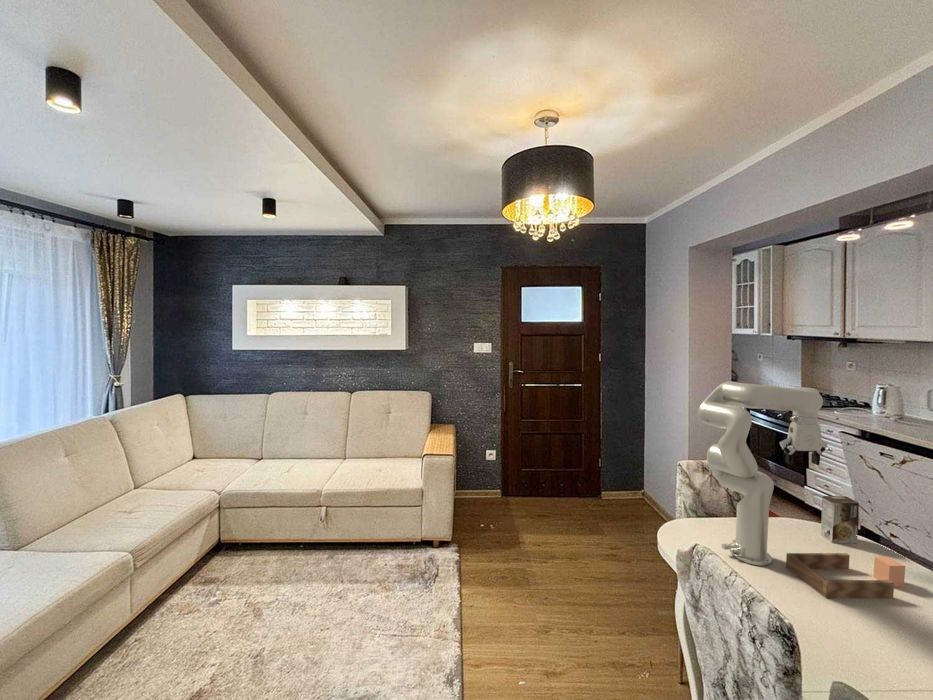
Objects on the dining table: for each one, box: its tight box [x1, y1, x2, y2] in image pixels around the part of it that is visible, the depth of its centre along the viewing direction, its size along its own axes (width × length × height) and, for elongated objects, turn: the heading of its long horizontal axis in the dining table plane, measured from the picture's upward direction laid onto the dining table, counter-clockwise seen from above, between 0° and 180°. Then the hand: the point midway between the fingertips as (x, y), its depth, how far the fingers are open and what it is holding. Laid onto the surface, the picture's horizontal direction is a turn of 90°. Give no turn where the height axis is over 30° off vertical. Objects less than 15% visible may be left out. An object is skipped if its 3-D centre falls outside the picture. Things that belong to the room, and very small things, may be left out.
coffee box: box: [820, 495, 860, 544], centre depth 164 cm, size 9×6×16 cm
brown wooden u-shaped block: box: [785, 552, 895, 599], centre depth 138 cm, size 21×16×5 cm
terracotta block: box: [872, 556, 906, 588], centre depth 138 cm, size 5×5×7 cm
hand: (802, 463), depth 162 cm, fingers open, 9 cm apart
